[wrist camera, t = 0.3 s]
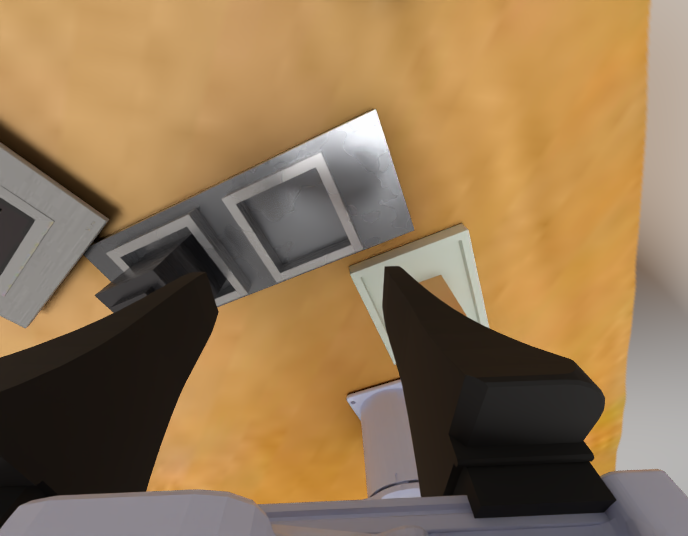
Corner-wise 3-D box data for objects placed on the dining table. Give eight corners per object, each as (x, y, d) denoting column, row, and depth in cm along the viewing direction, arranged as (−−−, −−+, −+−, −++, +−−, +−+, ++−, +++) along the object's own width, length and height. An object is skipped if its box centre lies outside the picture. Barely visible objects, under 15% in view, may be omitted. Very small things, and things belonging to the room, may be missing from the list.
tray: (484, 325, 26) (490, 335, 25) (392, 354, 28) (394, 364, 27) (461, 223, 21) (468, 229, 20) (349, 266, 22) (349, 274, 21)
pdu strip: (373, 108, 17) (394, 112, 11) (410, 223, 21) (440, 271, 15) (92, 243, 21) (-3, 299, 15) (167, 319, 24) (115, 388, 19)
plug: (451, 310, 24) (480, 361, 20) (407, 324, 25) (425, 377, 20) (441, 274, 23) (470, 321, 18) (393, 291, 23) (409, 341, 18)
